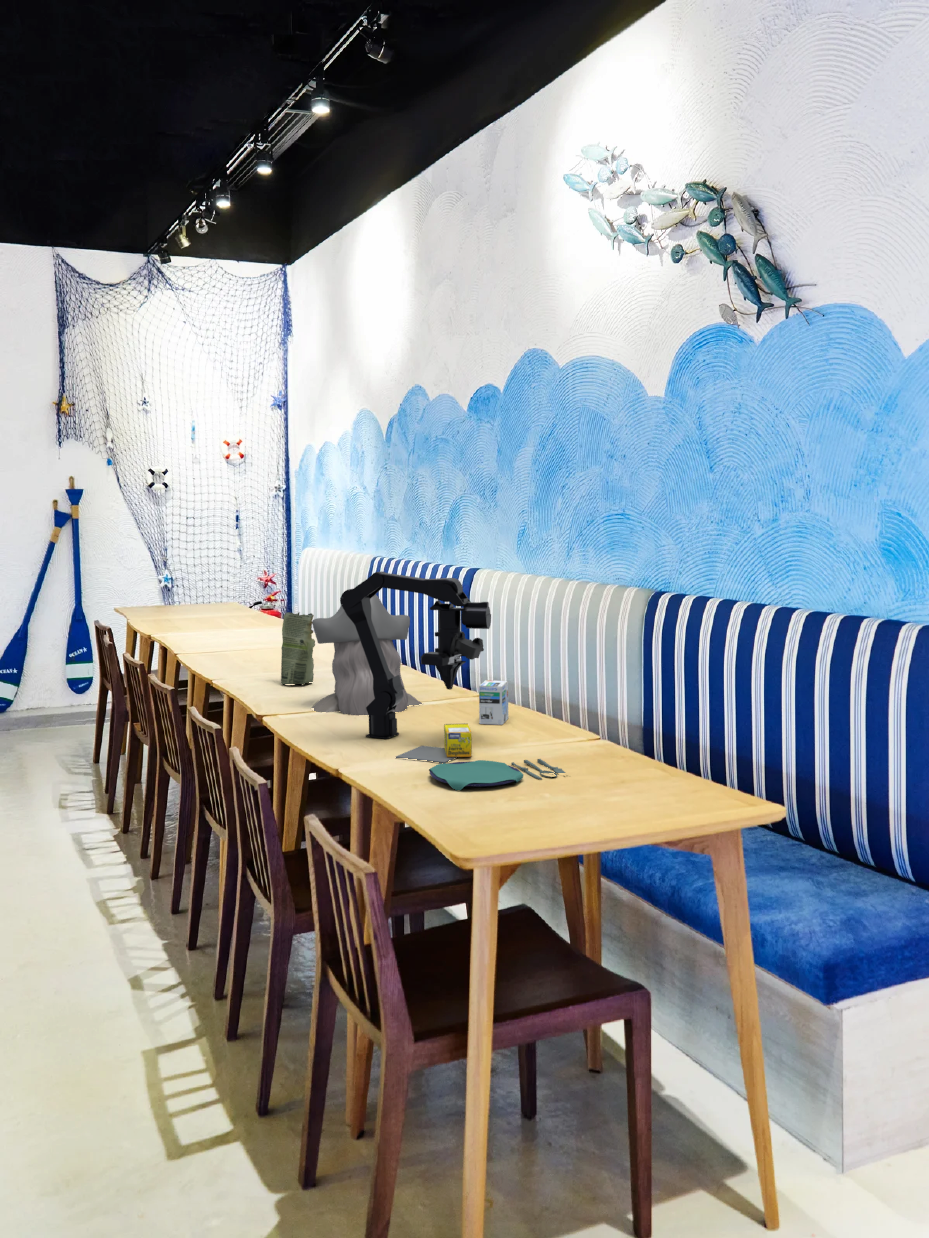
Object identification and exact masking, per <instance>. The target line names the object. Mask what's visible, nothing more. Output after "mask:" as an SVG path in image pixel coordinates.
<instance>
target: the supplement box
mask: <svg viewBox="0 0 929 1238" xmlns="http://www.w3.org/2000/svg"><path fill="white" fill-rule="evenodd" d="M443 731H444V732H443V734H444V735H443V738H444V740H443V744H444V746H443V748H445V752H446V755H447V757H458V758H469V757H472V739H473V738H472V736H473V735H472V734H473V733H472V730H471V727H470V725H469V724H468V723H465V722H464V723H445V724H444V725H443Z"/></svg>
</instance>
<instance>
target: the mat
mask: <svg viewBox="0 0 929 1238" xmlns="http://www.w3.org/2000/svg"><path fill="white" fill-rule="evenodd" d="M395 757H396V758H395V759H397V758H408V759H417V760H427V761H433V762H439V763H438V764H442V763H445V764H447V763H449V762H450V761H449V760H451V761H453V759H454V758H456V757H447V755H446V752H445V748H444V747H439V746H429V745H420V746H418V747H415V748H413V749H410V750H408V751H405V752H403V753H401V754H398V755H396V756H395ZM456 759H457V758H456ZM454 760H455V759H454ZM448 761H449V762H448ZM433 762H432V763H433ZM446 762H447V763H446Z"/></svg>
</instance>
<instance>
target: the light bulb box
mask: <svg viewBox="0 0 929 1238" xmlns="http://www.w3.org/2000/svg"><path fill="white" fill-rule="evenodd" d="M478 701H479V705H478V708H479V709H478V714H479V715H478V717H479V719H478V720H479V721H478V722H479V725H495V726H498V725H499V726H503V725H504V723H506V722H507V720H509V680H494V679H493V680H491V679H485V680H484V681H483V682H481V684H480V685H478Z"/></svg>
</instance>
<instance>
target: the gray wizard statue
mask: <svg viewBox="0 0 929 1238" xmlns="http://www.w3.org/2000/svg"><path fill="white" fill-rule="evenodd" d="M370 603H371V619H372V623H373V626H374V628H375V631H376V634H377V637H378V640H379V643H380V645H381V648H382V651H383V654H384V657H385V660H386V662H387V665H388V668H389V670H390V672H391V673H392V674H393V676H394V677H395V676H397V675H399V676H400V680H401V684H402V686H403V687H404V688H405V684H404V681H403V678H402V674H401V663H402V661H401V655H400V654H399V652H398V651H397V649H396V647H395V646H394V643H393V640H394V641H395V640H396V641H397V640H398V641H399V640H400V641H401V640H403V641H405V640H407V639H408V636H409V635H408V634H409V632H410V631H409V628H410V625H411V617H410V616H409V615H406V614H395V615H394V614H391V613H390V612H389V611H388V610H387V608H386V607H385V606H384V604H383V603H382V601H381V599H380V598H379V596H378V595H377V594H376V595H374V596H373V597H372V598H371V599H370ZM312 629H313V631H314V632H313V633H314V634H315V638H316V642H317V644H333V649H334V654H333V659H332V661H331V662H332V663H331V664H332V665H331V671H332V674H333V678H334V690H333V691H334V692H333V693H331V694H328V695H326V696H325V697H323V698H321V699H320V700H318V701H316V703H314V705H313V706H312V707H311V708H314V711H316V713H322V712H326V713H337V712H339V711H340V713H341V714H342V713H343V714H342V715H350V716H359V715H368V712H367V710H366V707H367V706H368V705H369V704H370V703H371V702H372V701H373V700H374V699H375V698H374V692H373V675H372V672H371V670H370V667H369V664H368V661H367V658H366V655H365V653H364V650H363V647H362V644H361V641H360V638H359V636H358V633H357V630H356V627H355V625H354V623H353V622H352V621H351V620H350V619H349V617H348V616H347V615H346V613H345V611H344V609H343V607H342V606H341V605H340V607H339V608H338V609H337V611H336V612H335V613H334V614H333V615H332V616H330V617H318V618H313V619H312ZM419 704H422V702H421V701H419V700H418V699H417V698H415V697H414V696H413V695H412V694H410V693H408V692H407V690H406V689H404V690H403V698H402V700H401V702H400V703H398V704H397V706H396V709H395V710H393V711H392V712H398V713H402V711H403V712H404V711H406V710H405V709H407V710H408V707H407V706H409V705H419ZM422 705H423V704H422ZM419 706H420V705H419Z"/></svg>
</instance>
